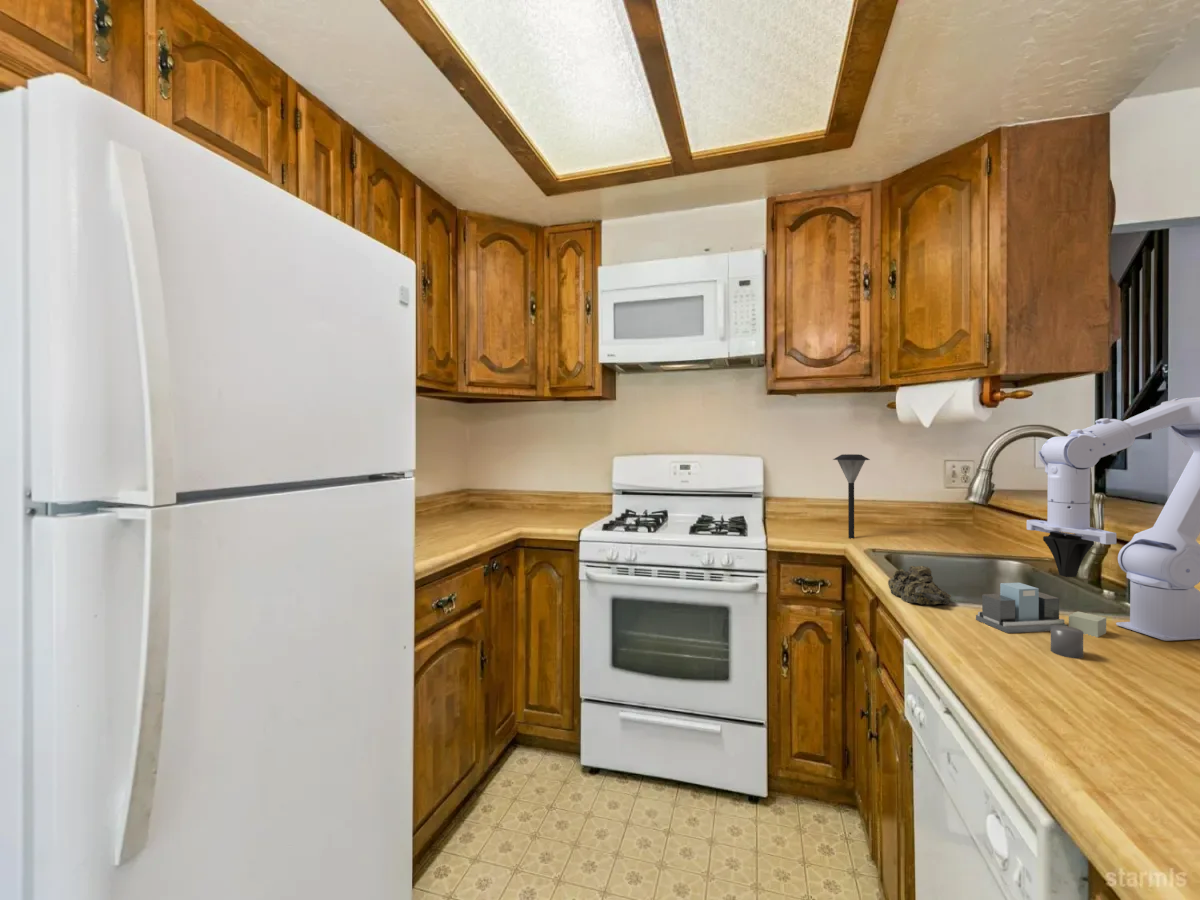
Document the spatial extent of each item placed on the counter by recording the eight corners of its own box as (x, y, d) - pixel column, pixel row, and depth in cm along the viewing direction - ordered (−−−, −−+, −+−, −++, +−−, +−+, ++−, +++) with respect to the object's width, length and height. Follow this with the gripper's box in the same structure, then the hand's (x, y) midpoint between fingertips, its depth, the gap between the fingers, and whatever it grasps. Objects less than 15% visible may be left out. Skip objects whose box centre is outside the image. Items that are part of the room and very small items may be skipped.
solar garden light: (831, 534, 191) (831, 454, 191) (867, 535, 187) (867, 454, 186) (834, 540, 180) (833, 455, 179) (873, 542, 176) (873, 455, 175)
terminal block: (1077, 627, 97) (1077, 611, 97) (1106, 633, 93) (1106, 617, 93) (1068, 631, 95) (1068, 615, 95) (1097, 638, 91) (1097, 621, 91)
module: (1018, 613, 100) (1019, 582, 100) (1038, 620, 96) (1038, 588, 96) (1000, 614, 99) (1000, 583, 99) (1019, 621, 95) (1019, 589, 95)
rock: (912, 588, 123) (876, 571, 123) (945, 563, 117) (907, 545, 117) (929, 633, 113) (889, 614, 112) (965, 608, 107) (924, 588, 106)
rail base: (1031, 617, 102) (1031, 589, 102) (1067, 630, 95) (1067, 600, 95) (975, 619, 101) (975, 592, 100) (1007, 633, 94) (1007, 603, 93)
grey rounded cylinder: (1065, 647, 87) (1065, 624, 87) (1090, 657, 83) (1090, 633, 83) (1044, 649, 87) (1044, 625, 87) (1068, 659, 83) (1068, 634, 83)
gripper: (1012, 497, 100) (1012, 566, 100) (1090, 507, 86) (1089, 588, 86) (1045, 497, 101) (1045, 565, 101) (1127, 506, 86) (1127, 586, 86)
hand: (1067, 576), depth 93 cm, fingers closed
